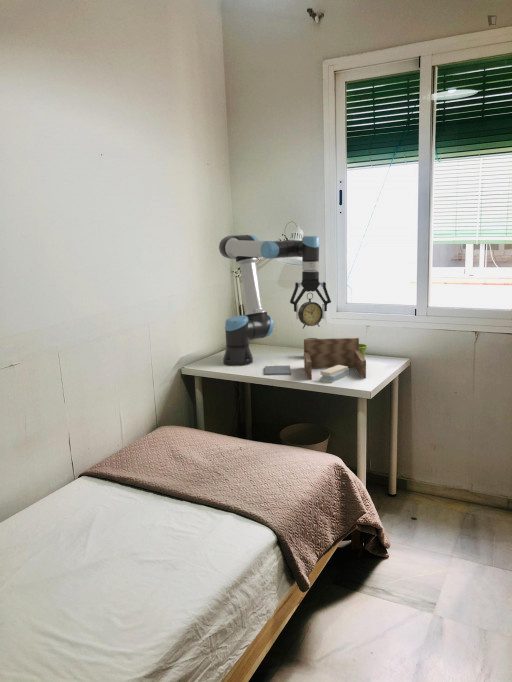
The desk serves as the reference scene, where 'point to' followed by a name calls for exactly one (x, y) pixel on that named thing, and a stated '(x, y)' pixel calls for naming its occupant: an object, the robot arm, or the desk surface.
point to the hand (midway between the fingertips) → (310, 318)
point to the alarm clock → (310, 313)
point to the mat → (277, 370)
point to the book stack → (334, 373)
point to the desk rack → (333, 354)
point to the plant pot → (362, 349)
